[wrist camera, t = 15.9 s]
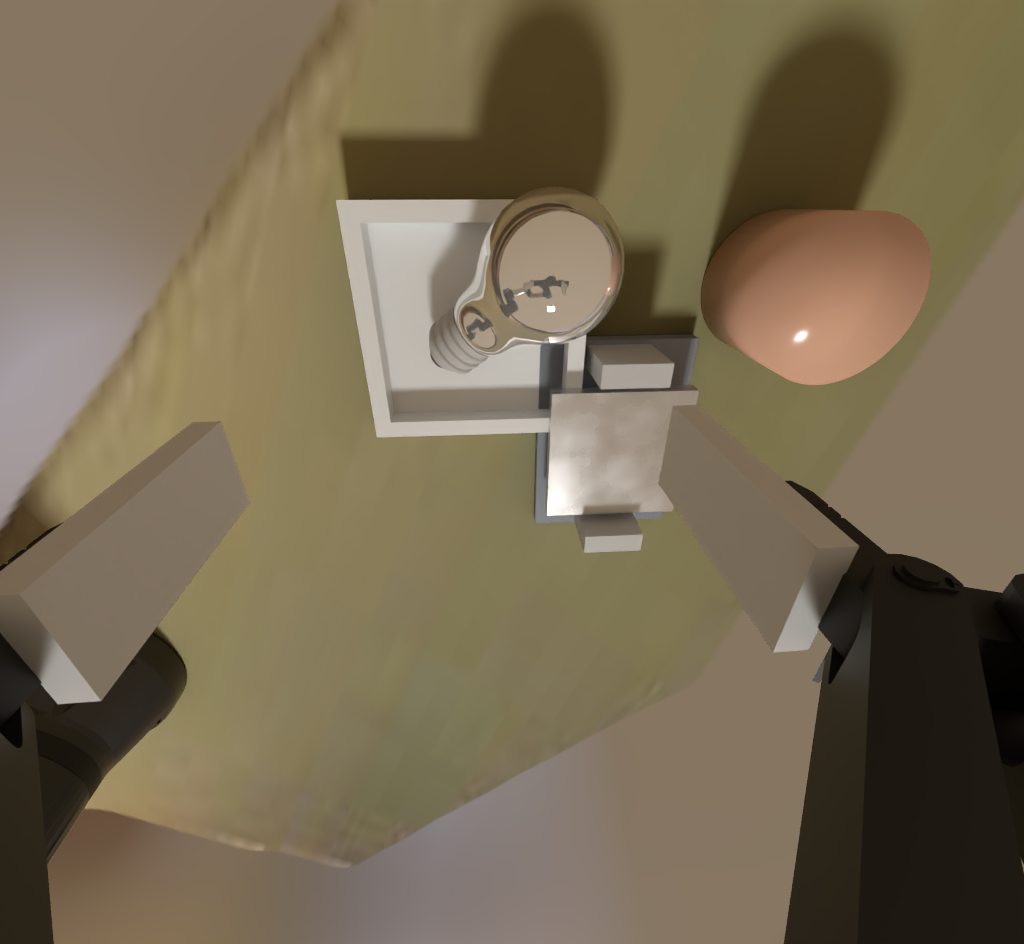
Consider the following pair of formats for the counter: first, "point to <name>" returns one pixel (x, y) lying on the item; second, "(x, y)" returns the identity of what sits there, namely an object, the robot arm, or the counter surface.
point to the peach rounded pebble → (817, 290)
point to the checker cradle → (613, 368)
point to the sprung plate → (609, 448)
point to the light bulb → (534, 280)
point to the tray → (418, 305)
